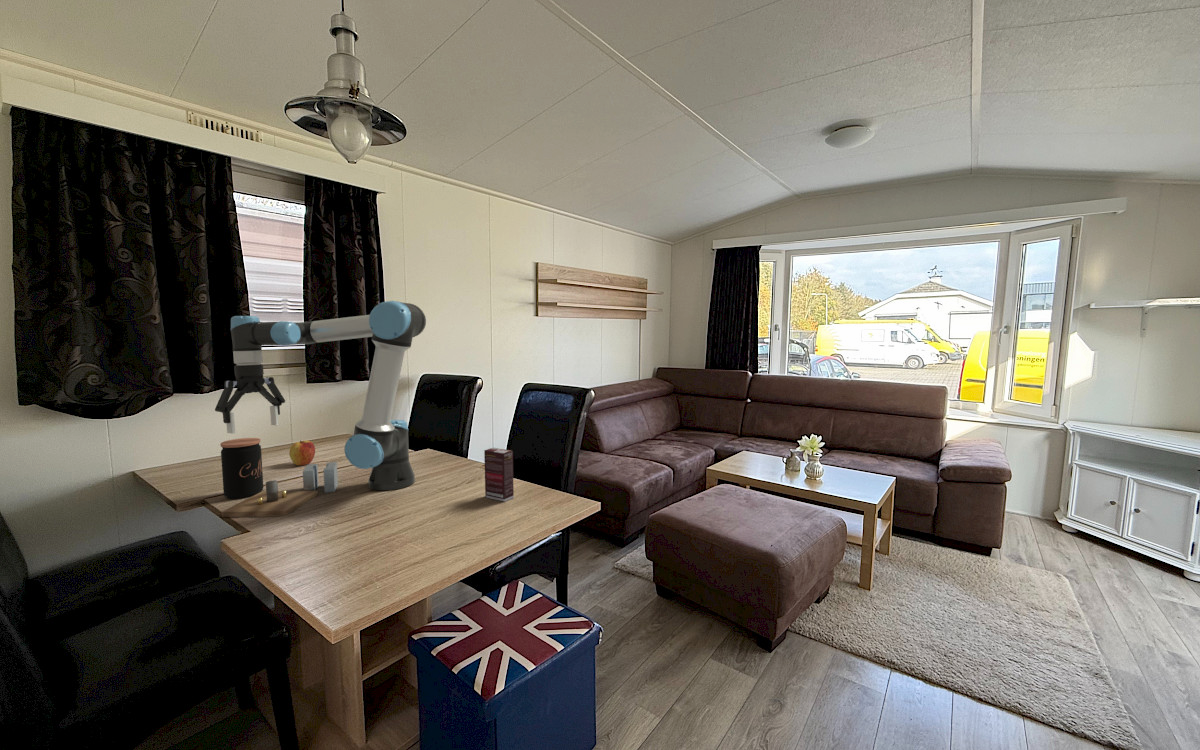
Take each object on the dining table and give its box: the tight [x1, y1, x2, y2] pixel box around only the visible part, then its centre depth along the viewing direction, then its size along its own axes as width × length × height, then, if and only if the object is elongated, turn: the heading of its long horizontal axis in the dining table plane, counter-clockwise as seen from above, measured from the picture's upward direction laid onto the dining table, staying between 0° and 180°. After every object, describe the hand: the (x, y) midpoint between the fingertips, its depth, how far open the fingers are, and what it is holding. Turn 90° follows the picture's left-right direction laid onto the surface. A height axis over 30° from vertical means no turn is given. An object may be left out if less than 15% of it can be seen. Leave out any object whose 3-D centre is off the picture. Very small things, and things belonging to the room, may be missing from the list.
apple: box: [288, 440, 316, 467], centre depth 194 cm, size 9×9×10 cm
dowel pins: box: [258, 490, 287, 505], centre depth 149 cm, size 8×1×2 cm, turn 153°
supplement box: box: [483, 447, 515, 502], centre depth 156 cm, size 9×5×16 cm, turn 60°
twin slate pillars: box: [302, 461, 339, 494], centre depth 164 cm, size 9×9×8 cm
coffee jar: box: [219, 437, 264, 500], centre depth 158 cm, size 11×11×18 cm
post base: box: [221, 479, 319, 518], centre depth 149 cm, size 18×18×8 cm
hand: (254, 429), depth 156 cm, fingers open, 13 cm apart
